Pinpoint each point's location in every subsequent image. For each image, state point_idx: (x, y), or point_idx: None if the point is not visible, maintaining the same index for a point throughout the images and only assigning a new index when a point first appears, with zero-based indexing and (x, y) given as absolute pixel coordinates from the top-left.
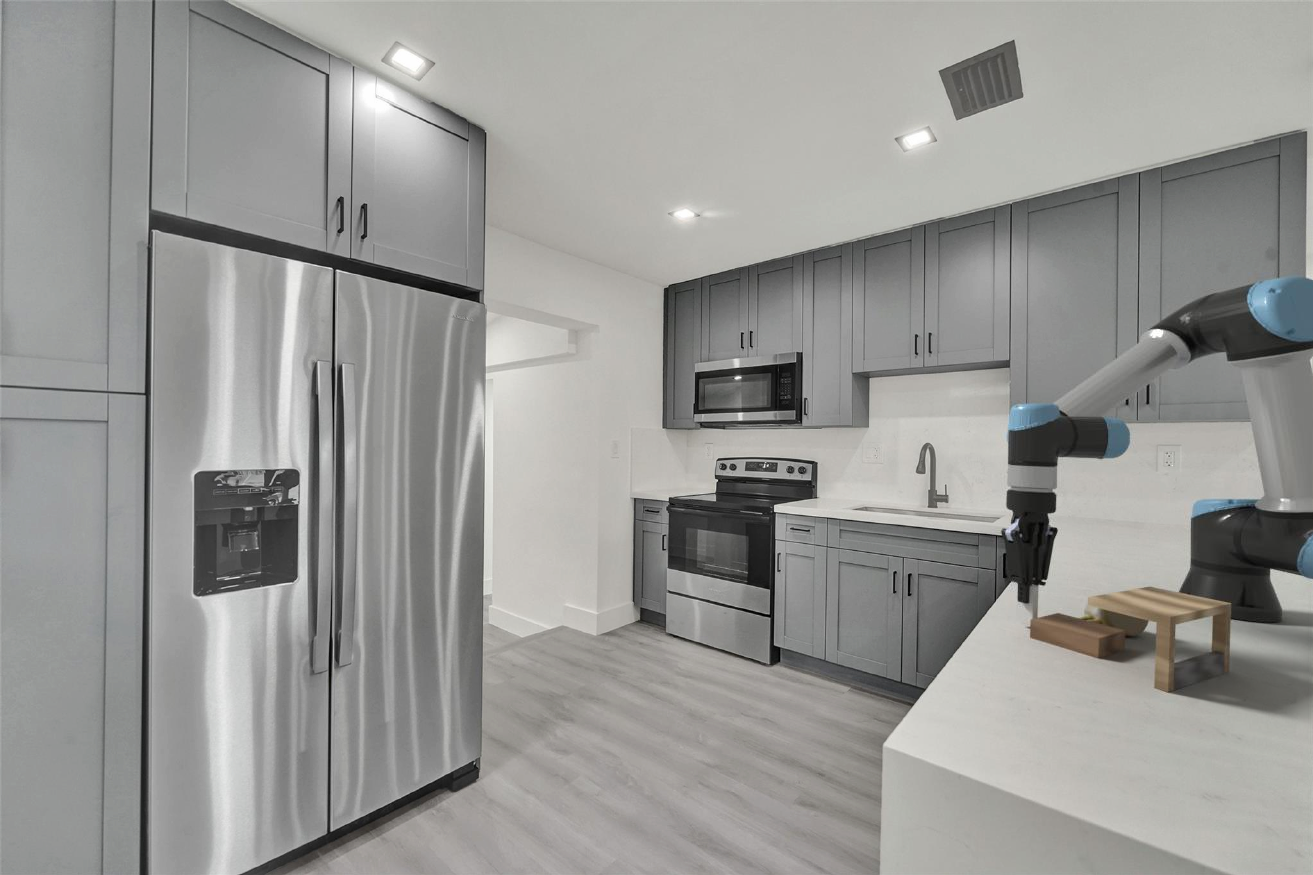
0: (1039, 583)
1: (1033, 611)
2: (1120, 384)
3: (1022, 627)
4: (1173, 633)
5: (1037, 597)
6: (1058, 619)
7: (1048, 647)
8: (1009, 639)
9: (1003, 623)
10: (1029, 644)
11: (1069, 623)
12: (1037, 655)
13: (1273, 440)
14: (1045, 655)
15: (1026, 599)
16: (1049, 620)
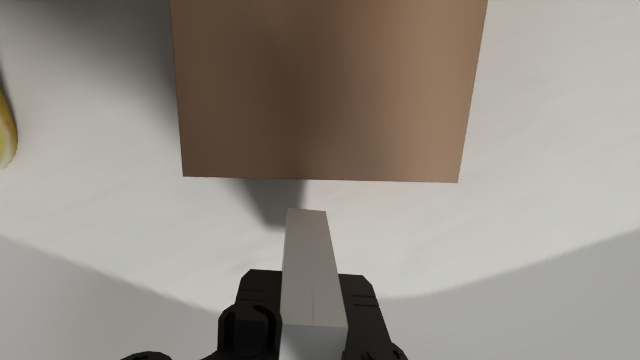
0: (279, 332)
1: (323, 233)
2: None
3: None
4: None
5: (289, 271)
6: (318, 115)
7: (491, 63)
8: (517, 186)
9: None
10: (516, 120)
11: (345, 47)
12: (633, 39)
13: None
14: (609, 22)
15: (363, 288)
16: (384, 130)
